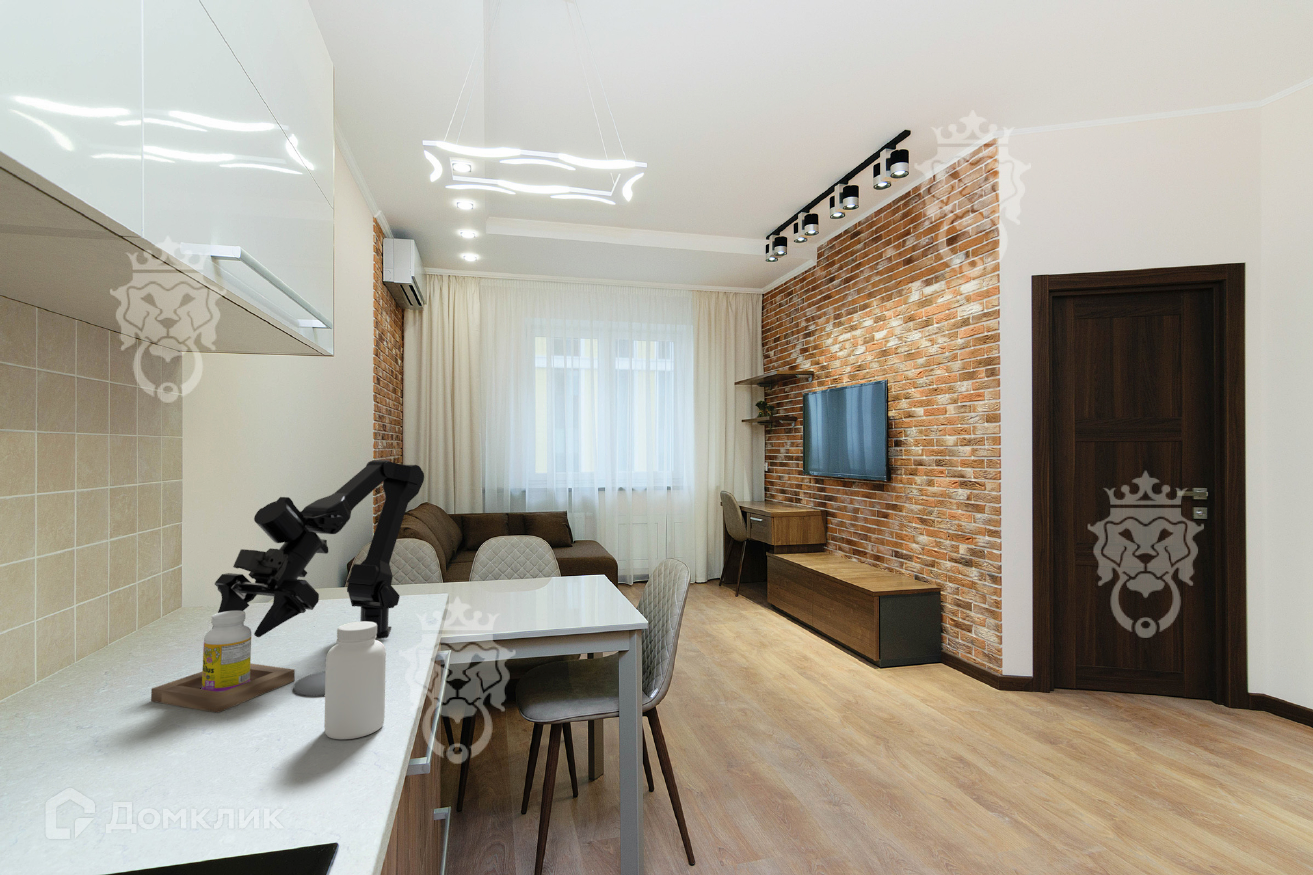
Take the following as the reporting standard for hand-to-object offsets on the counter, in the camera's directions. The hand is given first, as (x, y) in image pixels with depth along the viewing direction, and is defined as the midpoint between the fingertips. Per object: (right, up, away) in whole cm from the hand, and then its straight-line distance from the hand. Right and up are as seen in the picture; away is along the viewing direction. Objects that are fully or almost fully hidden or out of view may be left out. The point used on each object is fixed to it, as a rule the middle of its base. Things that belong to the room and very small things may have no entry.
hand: (235, 633), depth 105 cm
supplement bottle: (0, -9, -1) cm, 9 cm away
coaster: (+15, -10, +2) cm, 18 cm away
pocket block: (0, -9, -1) cm, 9 cm away
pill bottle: (+28, -9, -15) cm, 33 cm away
